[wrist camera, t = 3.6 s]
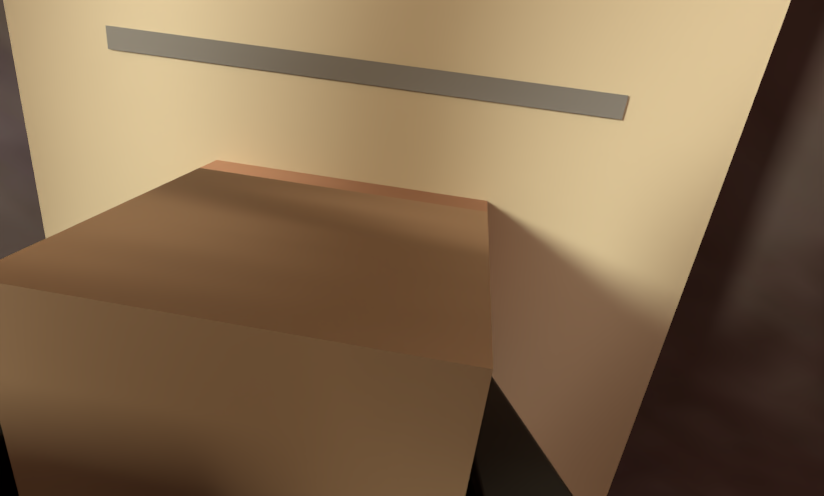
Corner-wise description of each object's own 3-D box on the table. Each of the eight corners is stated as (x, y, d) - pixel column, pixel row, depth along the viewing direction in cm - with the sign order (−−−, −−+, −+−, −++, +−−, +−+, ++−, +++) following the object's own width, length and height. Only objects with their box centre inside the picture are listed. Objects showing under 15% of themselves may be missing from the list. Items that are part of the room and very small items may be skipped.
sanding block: (227, 463, 10) (75, 716, 6) (216, 159, 7) (-38, 277, 4) (431, 503, 10) (399, 793, 6) (486, 200, 7) (492, 369, 4)
